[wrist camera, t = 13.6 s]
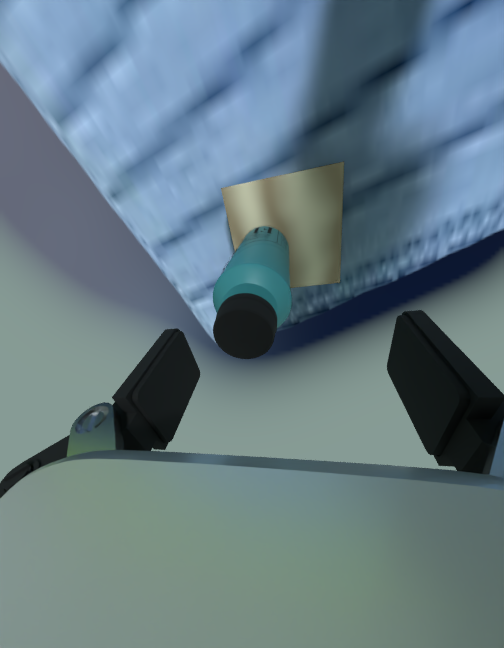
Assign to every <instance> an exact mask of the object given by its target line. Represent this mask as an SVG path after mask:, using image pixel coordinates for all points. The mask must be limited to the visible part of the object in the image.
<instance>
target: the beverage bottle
mask: <svg viewBox="0 0 504 648" xmlns="http://www.w3.org/2000/svg"><path fill="white" fill-rule="evenodd" d="M254 228H255V227H254ZM252 229H253V228H252ZM282 233H283V232H282ZM282 233H281V232H280V231H279V230H277V229H275V228H274V227H269V225H268V226H261V227H259V226H258V227H257V228H255V229H253V230H252V231H250V230H249V233H248V234H246V235H245V236H246V237H245V238H244V240H243V239H242V240H243V241H242V240H241V241H242V243H241V244H239V245H240V246H239V247H238V249H237V248H236V251H235V254H234V255H233V256H232V258H231V260H230V262H229V263H228V264H226V265H227V267H225V266H224V267H225V268H226V269H225V270H224V269H223V270H224V272H223V273H222V274H221V276H220V277H219V278H218V280H217V282H216V284H215V287H214V291H213V303H214V307H215V310H216V312H217V316H216V320H215V323H214V327H213V334H214V338H215V341H216V343H217V344H218V346H219V347H220V348H221V349H222V350H223V351H224V352H226V353H227V354H229V355H231V356H233V357H236V358H241V359H251V358H256V357H259V356H261V355H263V354H265V353H266V352H267V351H268V350H269V349H270V347H271V346H272V344H273V341H274V337H275V333H276V330H277V328H278V327H279V326H281V325H282V324H283V323H284V321H285V320H286V319H287V317H288V316H289V313H290V311H291V307H292V295H291V291H290V273H289V265H290V264H289V245H288V242H287V241H288V240H287V239H286V238H287V237H286V238H285V236H284V235H283V234H284V233H283V234H282Z"/></svg>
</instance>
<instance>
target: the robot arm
mask: <svg viewBox="0 0 504 648" xmlns="http://www.w3.org/2000/svg"><path fill="white" fill-rule="evenodd" d="M387 370H388V374H389V376H390V378H391V380H392V382H393V384H394V386H395V388H396V390H397V392H398V394H399V396H400V398H401V400H402V402H403V404H404V406H405V408H406V410H407V412H408V415H409V417H410V419H411V421H412V423H413V424H414V427H415V429H416V431H417V433H418V435H419V437H420V439H421V441H422V443H423V445H424V447H425V449H426V451H427V452H428V454H430V455H434V457H435V459H436V461H437V463H438V465H439V466H454V467H455V468H456V470H457V471H453V470H442V469H429V468H417V467H404V466H392V465H377V464H362V463H346V462H330V461H314V460H299V459H283V458H267V457H250V456H232V455H215V454H196V453H178V452H160V451H151V449H152V447H153V448H154V449H161V450H165V449H166V447H167V445H168V442H170V441H171V440H172V439H173V437H174V435H175V432H176V430H177V428H178V425H179V423H180V421H181V418H182V416H183V414H184V412H185V410H186V407H187V405H188V403H189V400H190V398H191V396H192V393H193V391H194V389H195V387H196V384H197V382H198V380H199V377H200V370H199V368H198V365H197V363H196V361H195V359H194V356H193V354H192V352H191V349H190V347H189V345H188V343H187V340H186V338H185V336H184V333H183V332H182V331H180V330H179V329H167V330H165V331H164V332H163V333H162V334H161V336H160V337H159V338H158V340H157V341H156V342H155V343H154V345H153V346H152V347H151V348H150V350H149V351H148V352H147V354H146V355H145V356H144V357H143V359H142V360H141V361H140V362H139V364H138V365H137V366H136V368H135V369H134V370H133V371H132V373H131V374H130V375H129V376H128V378H127V379H126V380H125V382H124V383H123V384H122V385H121V387H120V388H119V389H118V390H117V392H116V393H115V394H114V396H113V397H112V398H113V399H114V401H115V403H114V404H113V405H111V404H110V403H105V402H104V403H100V404H97V405H94V406H92V407H91V408H89V409H87V410H86V411H85V412H83V413H82V414H81V415H80V416H79V417H78V418H77V419H76V420H75V422H74V423H73V425H72V427H71V430H70V435H69V436H67V437H65V438H64V439H62V440H60V441H59V442H57V443H55V444H53V445H52V446H50V447H48V448H46V449H45V450H43V451H41V452H40V453H38V454H36V455H35V456H33V457H31V458H29V459H28V460H26V461H24V462H23V463H21V464H20V465H18V466H17V467H15V468H14V469H12V470H11V471H10V472H9V473H8V474H7V475H6V476H5V477H4V479H3V480H2V481H1V483H0V648H504V394H503V393H502V392H501V391H500V390H499V389H498V388H497V387H496V386H495V385H494V384H493V383H492V382H491V381H490V380H489V379H488V378H487V377H486V376H485V375H484V374H483V373H482V372H481V371H480V369H479V368H478V367H477V366H476V365H475V364H474V363H473V362H472V361H471V360H470V359H469V358H468V357H467V356H466V355H465V354H464V353H463V352H462V351H461V350H460V349H459V348H458V347H457V346H456V345H455V344H454V343H453V342H452V341H451V340H450V338H448V336H447V335H445V333H444V332H443V331H442V330H441V329H440V328H439V327H438V326H437V325H436V324H435V323H434V322H433V321H432V320H431V319H430V318H429V317H428V316H427V315H426V313H424V312H423V311H422V310H418V311H405V312H403V313H402V315H400V316H398V317H397V320H396V324H395V330H394V334H393V339H392V344H391V349H390V353H389V359H388V363H387Z"/></svg>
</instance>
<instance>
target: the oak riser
mask: <svg viewBox="0 0 504 648" xmlns="http://www.w3.org/2000/svg"><path fill="white" fill-rule="evenodd" d="M343 178H344V162H340V163H335V164H330V165H326V166H321V167H317V168H312V169H308V170H303V171H298V172H294V173H289V174H285V175H280V176H275V177H271V178H266V179H262V180H257V181H252V182H248V183H243V184H239V185H234V186H230V187H225V188H221V190H222V195H223V199H224V204H225V208H226V213H227V218H228V222H229V227H230V231H231V236H232V240H233V245H234V250H235V251H236V248H237V249H238V247H239V246H240V245H239V244H241V243H242V241H243V240H244V238H245V237H246V236H245V235H246V234H248V233H249V230H250V231H252V230H253V229H255V228H257V227H258V226H259V227H261V226H268V225H269V227H274V228H275V229H277V230H279V231H280V232H281V233H282V232H283V233H284V234H283V233H282V234H283V235H284V236H285V238H286V237H287V238H286V239H287V240H288V241H287V242H288V245H289V264H290V265H289V273H290V288H295V287H304V286H313V285H322V284H331V283H340V265H341V236H342V207H343ZM254 227H255V228H254ZM252 228H253V229H252ZM242 239H243V240H242ZM241 240H242V241H241Z"/></svg>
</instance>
